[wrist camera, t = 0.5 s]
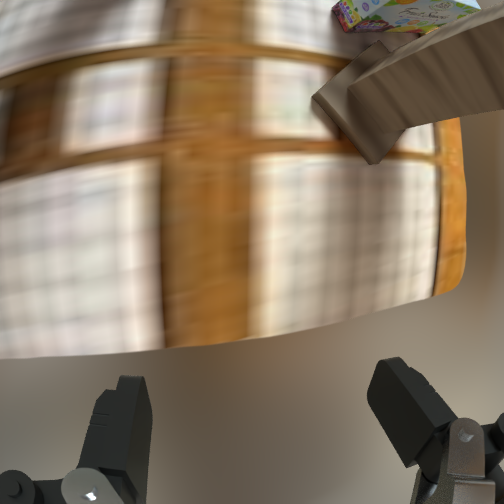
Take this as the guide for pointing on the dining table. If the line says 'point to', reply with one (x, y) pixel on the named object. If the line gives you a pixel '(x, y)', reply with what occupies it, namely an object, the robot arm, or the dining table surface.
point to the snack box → (400, 14)
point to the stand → (419, 82)
